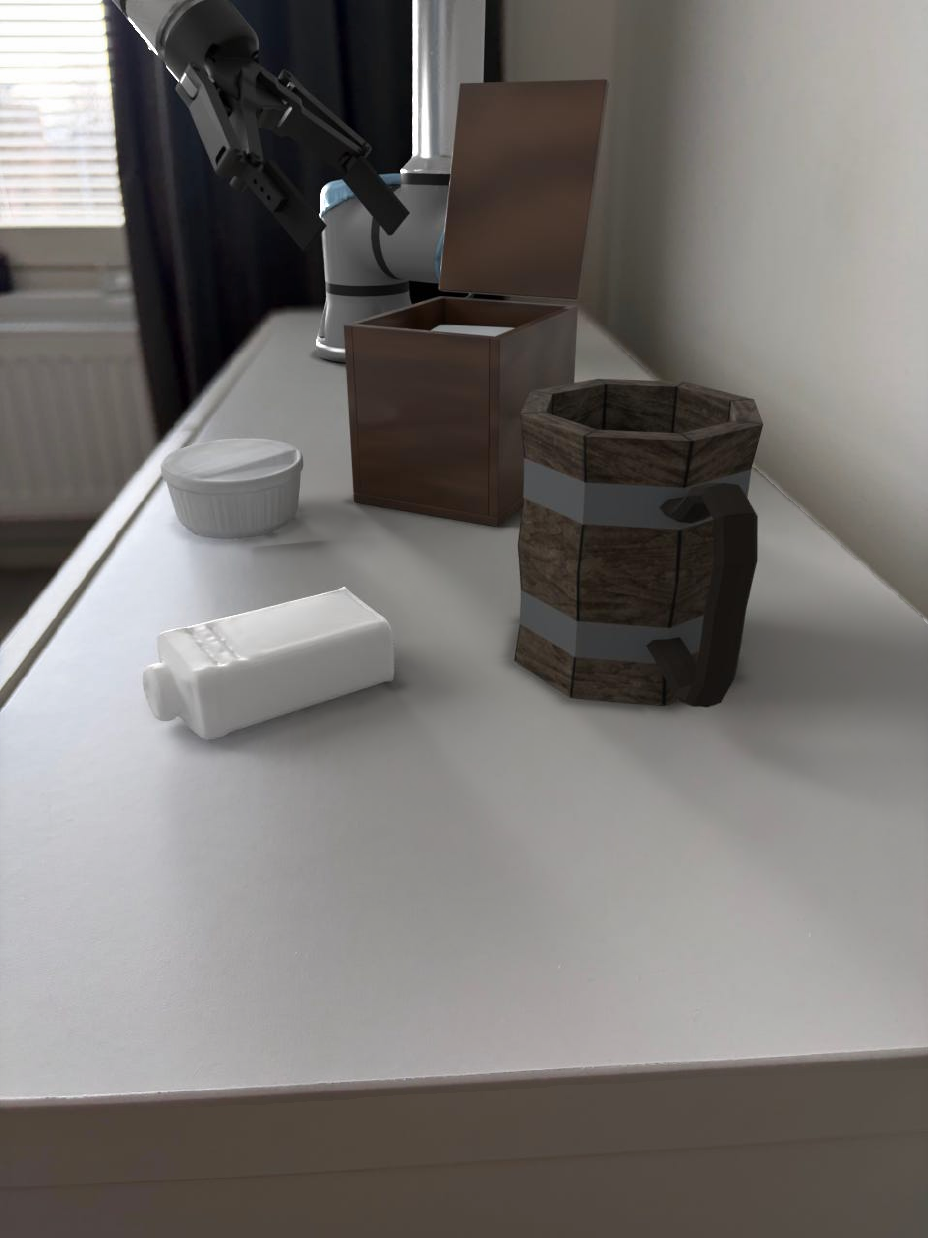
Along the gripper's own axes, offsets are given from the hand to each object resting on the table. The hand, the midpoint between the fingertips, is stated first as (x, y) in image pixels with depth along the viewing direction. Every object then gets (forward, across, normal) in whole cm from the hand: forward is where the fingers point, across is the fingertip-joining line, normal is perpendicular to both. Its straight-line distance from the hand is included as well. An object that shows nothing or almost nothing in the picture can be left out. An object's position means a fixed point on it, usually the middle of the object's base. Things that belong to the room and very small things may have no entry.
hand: (360, 231), depth 81 cm
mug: (+39, +27, +9) cm, 48 cm away
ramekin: (+13, +16, -17) cm, 27 cm away
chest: (+22, 0, -8) cm, 23 cm away
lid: (+5, -10, +9) cm, 15 cm away
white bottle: (+26, +38, -4) cm, 46 cm away
